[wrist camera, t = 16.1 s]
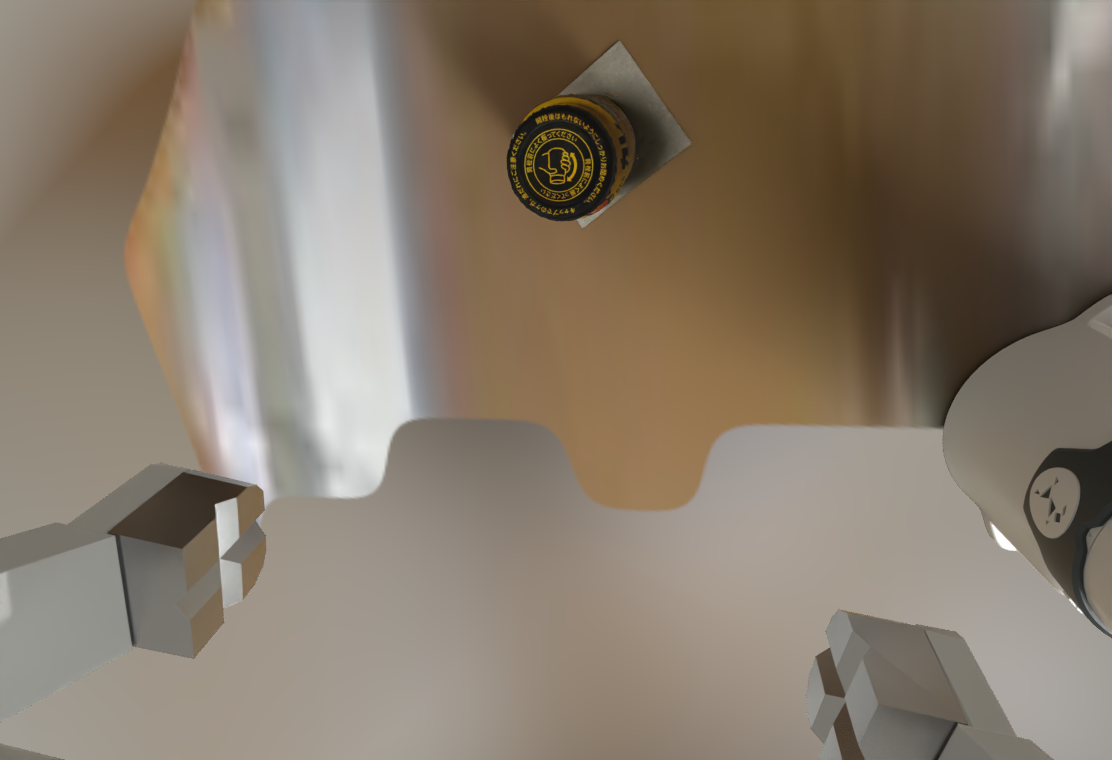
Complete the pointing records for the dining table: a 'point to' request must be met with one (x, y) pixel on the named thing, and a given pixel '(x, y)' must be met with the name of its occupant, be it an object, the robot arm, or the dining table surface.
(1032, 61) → the dining table surface
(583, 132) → the condiment
